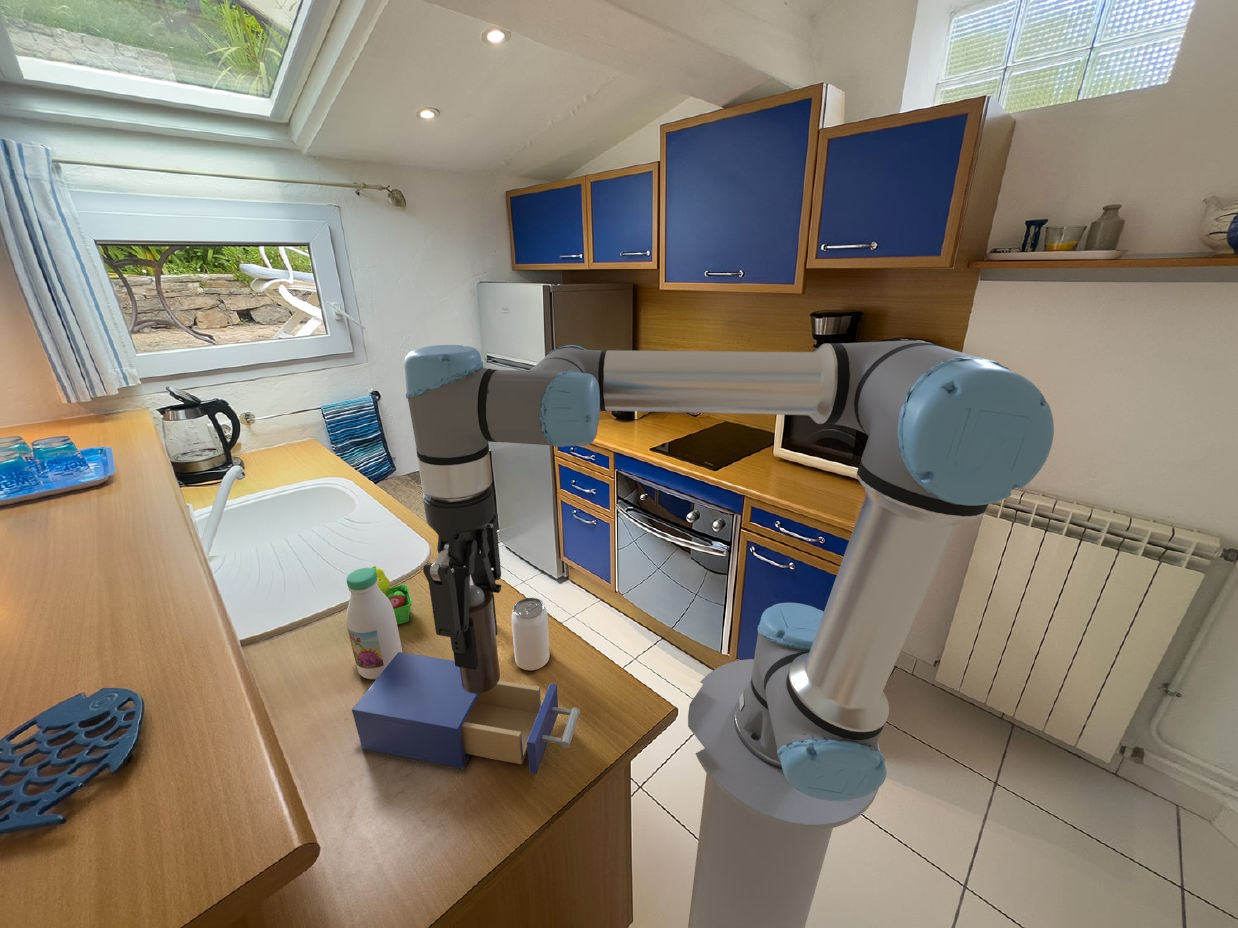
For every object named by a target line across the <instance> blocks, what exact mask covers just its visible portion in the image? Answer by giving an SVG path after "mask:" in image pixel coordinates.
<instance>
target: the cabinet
mask: <svg viewBox="0 0 1238 928" xmlns="http://www.w3.org/2000/svg"><path fill="white" fill-rule="evenodd" d="M402 652H403V651H402ZM402 652H398V653H397V654H396V656H395V657H394V658H393V659H392V661H391V662H390V663H389V664H388V666H387V667H386V668H385V669H384V671H383V672H382V673H381V674H380V675H379V677H378V678H377V679H374V682H372V684H371V685H370V686H369V688H368V689H367V690H366V691H365V693H364V694H363V695H362V696H361V698H360V699H358V701H357V703H355V704H354V706H353V707H352V708H351V712H352V717H353V719H354V723H355V727H356V731H357V735H358V738H359V743H360V746H361V749H362V750H366V751H371V752H376V753H381V754H385V755H391V756H397V757H401V758H407V759H411V760H417V761H423V762H428V763H432V764H437V765H441V766H442V765H443V766H448V767H452V768H453V767H454V768H459V769H465V767H466V765H467V763H468V761H469V759H470V758H471V755H470V754H465V751H464V745H463V738H462V732H461V727H462V725H463V723H464V722H465V720H466V718H467V716H468V714H469V712H470V711H471V709H472V707H473V705H474V703H475V701H476V700H477V698H478V696H479V694H480V693H479V694H473V693H469V692H467V691H466V690H465V689H464V688H463V687H462V683H461V676H460V669H459V667H457V666H455V660H454V659H445V658H440V657H434V656H427V655H421V654H415V653H407V652H403V653H402Z"/></svg>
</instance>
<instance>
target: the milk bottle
mask: <svg viewBox="0 0 1238 928" xmlns="http://www.w3.org/2000/svg"><path fill="white" fill-rule="evenodd" d="M346 584H347V587H348V589H347V590H348V591H349V592H350V598H349V600H350V602H349V605H348V604H347V608H346V612H345V613H346V614H345V621H346V623H345V624H346V628H347V634H348V637H349V641H350V645H351V649H352V654H353V658H354V661H355V666H356V669H357V672H358V674H359V675H360V676H361V677H363V678H364V679H367V680H376V679H377V678H378V677H379V675H380V674H381V673H382V672H383V671H384V669H385V668H386V667H387V666H388V664H389V663H390V662H391V661H392V659H393V658H394V657H395V656H396V654H397V653H398V652H402V653H404V652H403V647H402V641H401V637H400V631H399V628H398V625H397V622H396V618H395V613H394V610H393V607H392V604H391V602H390V600H389V599H388V598H387V596H386V595H385V594H384V593H383V592H382V591H381V590H380V589H379V587H378V585H377V584H378V579H377V574H376V571H375V570H374V569H372V567H361V568H357V569H355V570H353V571H352V572H350V573H348V575H347V576H346Z"/></svg>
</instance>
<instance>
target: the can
mask: <svg viewBox="0 0 1238 928" xmlns="http://www.w3.org/2000/svg"><path fill="white" fill-rule="evenodd" d="M548 616H549V615H548V610H547V609H546V606H545V603H544V601H543V600H541V599H539V598H537V597H525V598H522V599H520V600H518V601H517V602H516V603H515V604H513V607H512V612H511V631H512V642H513V652H514V653H513V655H514V662H515V664H516V666H518V668H520V669H522V670H524V671H529V672H530V671H531V672H532V671H537V670H540V669H542V668H543V667H545V665H546V664H548V662H549V660H550V633H549V617H548Z"/></svg>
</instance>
